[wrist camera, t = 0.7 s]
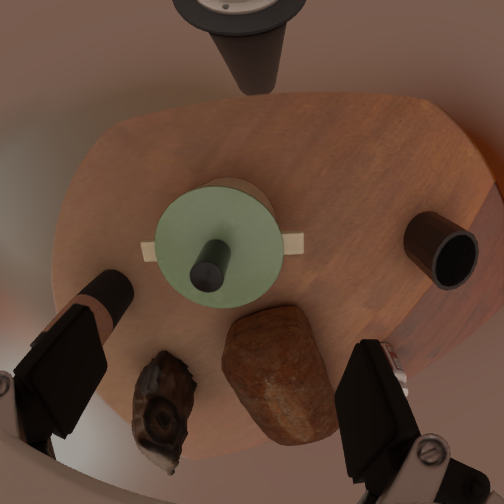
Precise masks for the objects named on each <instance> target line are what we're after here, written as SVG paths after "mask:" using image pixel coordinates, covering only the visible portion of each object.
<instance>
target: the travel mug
mask: <svg viewBox="0 0 504 504" xmlns="http://www.w3.org/2000/svg"><path fill="white" fill-rule="evenodd" d="M133 296H134V292H133V287H132V285H131V283H130V281H129V280H128V279H127V277H126V276H124V275H123V274H122V273H120V272H118V271H116V270H106V271H104V272H102V273H101V274H100V275H98V276H97V277H96V278H95V279H94V280H93V281H91V282H90V283H89V284H88V285H87V286H86V287H85V288H84V289H82V290H81V291H80V292H79V293H78V294H77V295H76V296H75V297H74V298H73V299H72V300H71V301H70V302H69V303H68V304H67V305H66V306H65V307H64V308H63V309H62V310H61V311H60V312H59V313H58V315H57V316H56V317H55V318H54V319H53V320H52V321H51V322H50V323H49V324H48V325H47V327H46V328H45V329H44V330H43V331H42V332H41V333H40V334H39V336H38V337H37V338H36V339H35V340H34V341H33V342H32V343H31V345H30V346H31V347H32V348H33V347H34V345H35V344H36V343H37V342H38V341H39V340H40V339H41V338H42V337H43V335H44V334H45V333H46V332H47V331H48V330H49V329H50V328H51V327H52V326H53V325H54V324H55V322H56V321H57V320H58V319H59V318H60V317H61V316H62V315H63V314H64V313H65V312H66V311H67V310H68V309H69V308H70V307H71V306H72V305H73V304H74V303H78V304H82V305H86V306H89V307H90V309H91V311H93V313H94V316H95V320H96V324H97V328H98V332H99V336H100V340H101V343H102V346H103V344H104V343H105V342H106V340H107V339H108V337H109V336H110V334H111V333H112V331H113V330H114V328H115V327H116V325H117V323H118V322H119V320H120V319H121V317H122V316H123V314H124V313H125V311H126V310H127V308H128V306H129V305H130V303H131V302H132V300H133Z"/></svg>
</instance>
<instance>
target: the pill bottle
mask: <svg viewBox="0 0 504 504" xmlns="http://www.w3.org/2000/svg"><path fill="white" fill-rule="evenodd" d="M380 344H381V346H382V348H383V350H384V352H385V355H386V357H387V359H388V361H389V363H390V365H391V368H392V370H393V372H394V374H395V376H396V377H397V378H398V380H399V383H400V385H401V387H402V389H403V392H404V394H405V396H406V397H407V395H408V389H407V386H406V381H407V376H406V374H405V372H404V370H403V368H402V366H401V364H400V362H399V360H398V358H397V356H396V354H395V352H394V350H393V348H392V346H391V345H389V344H387V343H380Z"/></svg>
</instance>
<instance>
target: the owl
mask: <svg viewBox="0 0 504 504" xmlns="http://www.w3.org/2000/svg"><path fill="white" fill-rule="evenodd" d="M186 368H188V366H187V365H186V364H184V363H183V362H182V361H181V360H179V359H177V358H175V357H174V356H172V355H171V354H169V353H168V352H167V351H161V352H159V353H158V355H157V357H156V358H155V359H152V362H151V363H149V365H148V366H145V367H144V369H143V371H142V372H141V374H140V376H139V378H138V380H137V383H136V384H135V392H134V396H133V420H132V433H133V436H134V439H135V441H136V444H137V447H138V449H139V450H140V451H141V453H142V454H144V455H145V456H146V457H147V458H148V460H150V461H151V462H153V463H154V464H155V465H157V466H159V467H160V468H161V469H163V470H164V471H166V472H167V473H168V475H173V474H174V473H175V471H174V469H175V468H176V467H177V465H178V464H179V461H178V460H179V458H180V455H181V452H182V444H183V442H184V440H185V439H186V437H187V435H188V432H187V419H188V418H189V416H190V413H191V411H192V407H193V404H194V397H193V396H194V391H195V389H196V387H197V383H196V382H195V381H193V379H192V378H191V377H193V375H192V374H191V373H189V371H188V369H186Z"/></svg>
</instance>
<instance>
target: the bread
mask: <svg viewBox="0 0 504 504" xmlns="http://www.w3.org/2000/svg"><path fill="white" fill-rule="evenodd" d="M222 371H223V373H224V375H225V377H226V379H227V381H228V382H229V384H230V385H231V387H232V388H233V389H234V391H235V393H236V395H237V396H238V398H239V400H240V401H241V403H242V404H243V406H244V407H245V408H246V409H247V411H248V412H249V414H250V416H251V417H252V419H253V420H254V421H255V423H256V424H257V425H258V426H259V427H260V429H261V430H262V431H263V432H264V433H265V434H266V436H267V437H268V438H270V439H271V440H273V441H275V442H276V443H278V444H280V445H286V446H294V445H303V444H308V443H312V442H316V441H320V440H322V439H324V438H327V437H329V436H331V435H332V434H333V433H334V432H336V431H337V430H338V428H339V423H338V418H337V413H336V408H335V403H334V396H335V395H334V392H333V389H332V387H331V384H330V381H329V379H328V375H327V372H326V368H325V365H324V362H323V359H322V357H321V354H320V352H319V350H318V348H317V345H316V342H315V339H314V337H313V333H312V330H311V327H310V324H309V322H308V320H307V318H306V316H305V314H304V313H303V311H301V310H300V309H299V308H297V307H296V306H283V307H278V308H273V309H269V310H265V311H261V312H258V313H255V314H253V315H250V316H247V317H245V318H243V319H240V320H238V321H237V322H235V323H234V324H232V326H231V328H230V330H229V332H228V334H227V339H226V344H225V349H224V352H223V356H222Z"/></svg>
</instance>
